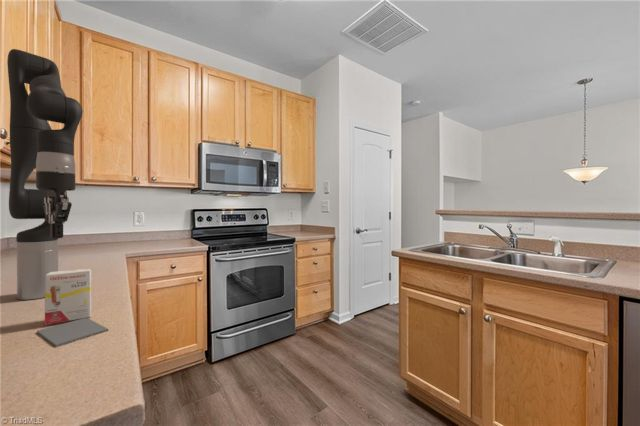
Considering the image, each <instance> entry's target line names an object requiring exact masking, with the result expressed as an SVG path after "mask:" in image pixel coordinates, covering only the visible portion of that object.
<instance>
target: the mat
mask: <svg viewBox="0 0 640 426" xmlns="http://www.w3.org/2000/svg"><path fill="white" fill-rule="evenodd" d="M105 331H106V332H108V331H109V328H107V327H105V326H104V325H102V324H100V323H97V322H96V321H94V320H92V319H90V318H89V317H87V318H82V319H76V320H71V321H67V322H65V323H62V324H58V325H53V326H49V327H46V328H42V329H39V330H36V333H37V334H38V335H40V336H41V337H42V338H43V339H45V340H47V341H48V342H49V343H50V344H52V345H53V346H55V348H57V347H60V346H63V345H67V344H69V343H73V342H76V340H77V341H79V339H80V340H83V339H86V338H90V337H93V336H95V335H98V334H99V335H100V334H102V333H105ZM92 335H93V336H92ZM89 336H90V337H89ZM85 337H86V338H85ZM72 341H73V342H72Z"/></svg>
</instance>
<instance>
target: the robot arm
mask: <svg viewBox="0 0 640 426" xmlns="http://www.w3.org/2000/svg"><path fill="white" fill-rule="evenodd" d="M6 62H7V63H6V64H7V77H8V86H9V88H8V89H9V98H10V100H9V101H10V102H9V103H10V105H9V106H10V107H9V108H10V110H9V149H10V176H9V177H10V179H9V180H10V181H9V192H8V193H9V195H8V211H9V215H10V216H11V218H12V219H15V220H39V219H40V220H43V219H44V221H43V222H42V223H41V224H39V225H38V226H35V227H33V228H29V229H25V230H22V231H19V232H17V233H16V237H15V239H16V242H15V243H16V298H17V300H20V301H21V300H23V301H24V300H25V301H26V300H35V299H43V298H45V275H47V274H48V273H50V272H56V271H59V239H62V238H64V224H65V223H66V222H68V219H69V215H70V212H71V209H72V205H73V204H72V202H70V198H69V197H68V192H67V191H70V192H71V191H75V190H76V161H75V137H76V133H77V130H78V127H79V124H80V122H81V119H82V118H83V117H82V116H83V112H84V110H83V107H82V105H81V104H80V102H79V101H78V100H77V99H75V98H72V97H69V96H67V94H66V93H65V91H64V89H63V88H62V83H61V82H62V81H61V75H60V71H59V68H58V66H57V64H56V62H54V61H53V60H52V59H49V58H46V57H44V56H40V55H37V54H34V53H31V52H29V51H28V52H27V51H25V50H21V49H17V48H13V49H11V50H9V51H8V54H7V60H6ZM26 84H27V85H28V88H29V89H28V90H29V93H28V91H27V88H26ZM49 122H53V123H57V124H63V127H62V128H60V129H52V126H51V125H50V123H49ZM34 170H36V171H35V172H36V173H35V182H36V183H35V187H36V189H35V188H25V185H26V183H27V180H28V179H29V177H30V176H31V174H32V172H33V171H34Z"/></svg>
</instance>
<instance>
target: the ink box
mask: <svg viewBox="0 0 640 426" xmlns="http://www.w3.org/2000/svg"><path fill="white" fill-rule="evenodd" d="M90 317H92V268H80V269H79V268H77V269H71V270H70V269H67V270H58V271H56V272H50V273H48V274H47V275H45V297H44V325H46V326H49V325H53V324H59V323H63V322H65V323H66V322H71V321H76V320H79V319H83V318H90Z"/></svg>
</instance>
